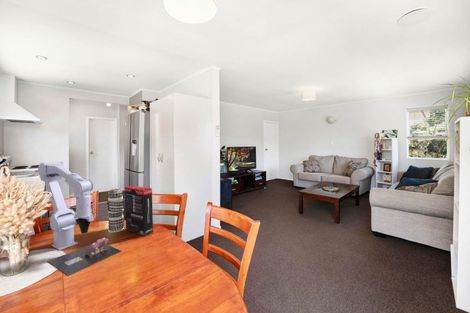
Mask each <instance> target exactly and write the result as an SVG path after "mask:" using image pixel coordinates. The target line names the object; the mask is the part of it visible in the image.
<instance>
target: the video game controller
mask: <svg viewBox="0 0 470 313" xmlns="http://www.w3.org/2000/svg"><path fill="white" fill-rule="evenodd" d="M109 241H110V240H109V239H108V238H106V237H103V238H99V239H97V240H95V241H94V242H93V243H91V244H92V245H91V244H90V245H91V246H90V247H89V248H88V249H87V250H86V251H85V255H89V254H91V253H92V252H94V253H96V252H97V251H98V250H99V249H100V250H101V249H103V247H104V246H105V245H106V244H107V245H108V243H109Z"/></svg>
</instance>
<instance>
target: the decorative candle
mask: <svg viewBox="0 0 470 313" xmlns="http://www.w3.org/2000/svg"><path fill="white" fill-rule="evenodd" d="M107 195H108V196H107V200H106V202H107V203H106V205H107V206H106V207H107V213H108V219H107V221H108V226H107V227H108V233H110V234H111V233H112V234H113V233H118V232H119V233H120V232H121V231H124V230H125V216H124V210H125V209H124V208H125V197H123V190H122V189H121V188H112V189H110V190H109V191H108V192H107ZM123 229H124V230H123Z"/></svg>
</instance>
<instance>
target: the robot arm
mask: <svg viewBox="0 0 470 313" xmlns="http://www.w3.org/2000/svg"><path fill="white" fill-rule="evenodd" d="M37 173H38V176H39V178H40V181H41V182H44V184H45V188H46V190H47V193H48V192H51V193H52V196H51V197H50V196H49V200H50V202H51V205H52V208H53V211H54V212H53V214H51V216H50V217H49V225H50V228H51V230H52V231H53V232H52V233H53V244H51V246H52V247H53V248H55V249H56V250H58V251H61V250H64V249H67V248H69V247H73V246H76V245H78V243H79V242H77V241H75V231H74V228H75V227H76V225H78V227H79V229H80V233H81V234H86V233H88V231H89V229H90V228H89V227H90V225H91V222H93V221H94V220H95V217H94V215H93V213H92V203H91V202H92V201H91V198H92V197H91V191H92V190H93V188H94V183H93V181H91V179H84V178H83V177H81V175H79V174H78V173H76V172H71V171H70V170H69V169H68V168H67V164H66V163H65V162H64V161H54V162H41V163H39V165H38V166H37ZM63 178H64V181H65V183H66V184H67V185H68V186H70V187H71V189H72V192H73V194H74V195H73V196H74V197H75V206H76V207H75V210H76V211H74V210H73V209H72V208H71V209H70V208H68V206H67V204H66V200H65V198H64V195H63V193H62V190H61V186H60V183H59V180H60V179H63Z"/></svg>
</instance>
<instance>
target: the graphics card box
mask: <svg viewBox="0 0 470 313" xmlns="http://www.w3.org/2000/svg"><path fill="white" fill-rule="evenodd" d="M124 208H125V209H124V210H125V230H126V231H127V232H128V231H129V232H131V233H134V234H137V235H140V236H143V237H145V236H147V235H150V234H151V233H153V232H154V222H153V218H154V217H153V188H152V187H145V186H137V185H133V184H132V185H126V186H124Z"/></svg>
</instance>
